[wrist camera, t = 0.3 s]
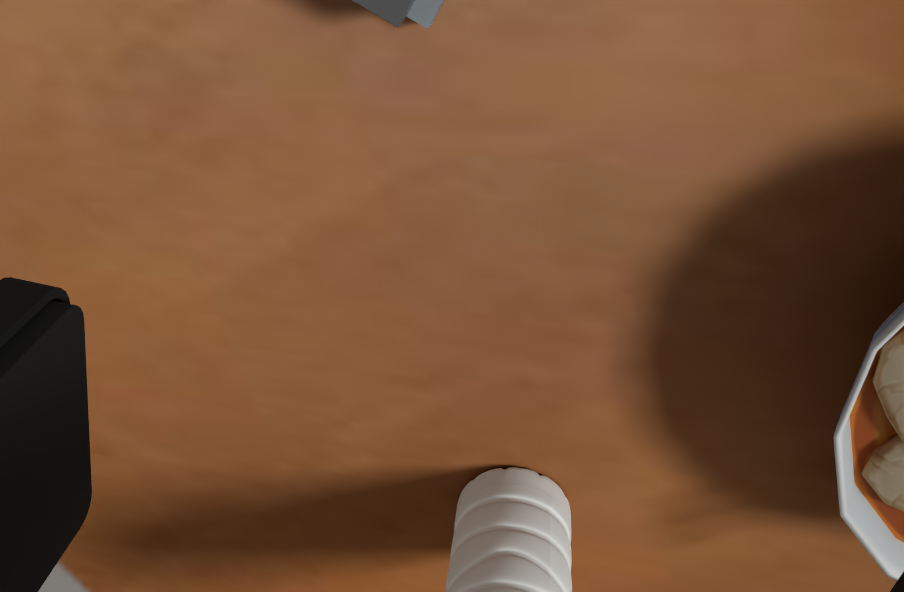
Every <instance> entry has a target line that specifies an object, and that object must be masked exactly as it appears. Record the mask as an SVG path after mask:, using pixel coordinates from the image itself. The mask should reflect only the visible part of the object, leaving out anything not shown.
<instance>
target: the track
mask: <svg viewBox="0 0 904 592" xmlns="http://www.w3.org/2000/svg"><path fill="white" fill-rule="evenodd" d="M443 1H444V0H415V1H414V3H413V5H412V7H411V9H410V11H409V13H408V15H407V17H408V18H410V19H411V20H413V21H415V22H417V23H418V24H420V25H422V26H423V27H425V28H427V29H429V27H430V26H431V24H432V22H433V20H434V19H435V17H436V15H437V13H438V11H439V9H440V7H441V5H442V3H443Z"/></svg>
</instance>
